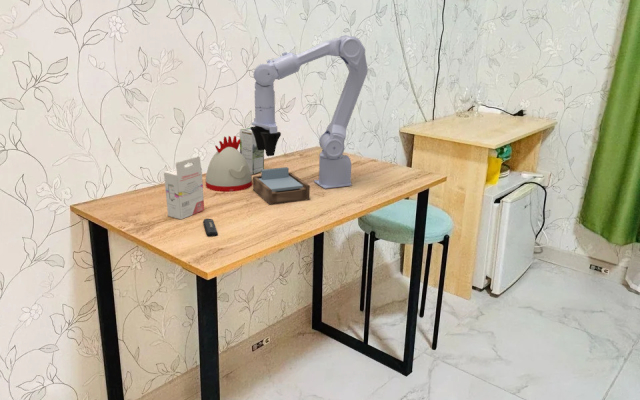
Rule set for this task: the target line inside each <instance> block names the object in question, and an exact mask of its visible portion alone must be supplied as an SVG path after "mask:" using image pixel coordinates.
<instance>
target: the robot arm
mask: <svg viewBox="0 0 640 400" xmlns="http://www.w3.org/2000/svg"><path fill="white" fill-rule="evenodd" d="M327 56H333V57H339V58H340V59H341V60H342V61H343V62H344V64H345V66H346V68H347V70H348V75H347V77H346V80H345V82H344V85H343V89H342V91H341V94H340V96H339V99H338V102H337V104H336V107H335V110H334V113H333V116H332V119H331V121H330V123H329V124H328V125H327V128H326V129H325V131H324V132H323V133H322V135H321V136H320V137H319V139H318V140H319V142H318V143H319V146H320V148H321V149H322V150H321V151H320V153H319V155H318V156H319V158H318V159H319V163H318V164H319V165H318V179H315V180H313V182H314V183H315V184H317V185H318V186H320V187H321V188H322V189H326V190H327V189H334V188H343V187H350V186H352V184H353V183H351V181H352V161H351V158H350V156H349V155H347V154H344V151H345V140H346V137H347V128H348V126H349V122H350V120H351V117H352V115H353V112H354V109H355V106H356V104H357V102H358V99H359V96H360V94H361V90H362V88H363V86H364V82H365V81H366V78H367V75H368V71H369V69H368V63H367V58H366V49H365V47H364V45H363V44H362V41H361V40H360V39H359V38H358V37H356V36H352V35H351V36H350V35H346V34H345V35H342V36H340V37H334V38H332V39H329V40H325V41H323V42H321V43H319V44H316V45H315V46H312V47H310V48H308V49H306V50H303V51H302V52H299V53H297V54H295V53H294V52H291V51H290V52H287V51H284V52H281V55H280V56H277V57H276V58H273V59H270V58H269V59H267V60H266V63H260V64H258V65H257V66H256V67H255V68H254V70H253V74H252V75H253V78H254V81H255V82H254V89H255V90H254V118H253V121H252V122H251V126H250V128H251V130H252V132H253V134H254V137H255V141H256V145H257V149H258V150H264V152H265V155H266V157H273V156H275V153H276V148H277V144H278V142H279V139H280V137H281V135H282V132H280V131H278V126H277V123H276V107H275V104H276V101H275V99H276V98H275V96H276V95H275V93H276V92H275V89H274V87H275V86H274V85H275V81H276V80H281V79H284V78H286V77H288V76H291V75H293V74H295V73H297V72H299V71H300V68H301V66H303V65H305V64H307V63H310V62H313V61H315V60H318V59H321V58H324V57H327Z"/></svg>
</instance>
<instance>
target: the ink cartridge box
mask: <svg viewBox="0 0 640 400" xmlns="http://www.w3.org/2000/svg"><path fill="white" fill-rule="evenodd" d="M190 164H192V165H190ZM163 176H164V179H163V180H164V187H165V188H164V189H165V199H166V207H167V216H168V217H171V218H175V219H177V220H183V219H186V218H189V217H191V216H193V215H195V214H198V213H201V212H203V211H204V210H205V203H204V202H205V200H204V197H205V196H204V184H203V169H202V163H201V157H200V156H199V155H198V156H196V157H191V158H186V159H184V160H181V161H177V162H176V163H175V168H174V169H171V170H170V169H169V170H167V171H164V172H163Z"/></svg>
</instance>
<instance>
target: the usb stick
mask: <svg viewBox="0 0 640 400" xmlns="http://www.w3.org/2000/svg"><path fill="white" fill-rule="evenodd" d="M202 224H203V228H204V231H205V234H206V237H208V238H209V237H212V238H213V237H217V236H218V235H219V233H218V230H217V227H216V225H215V221H214V220H213V219H212V218H204V219H203V221H202Z"/></svg>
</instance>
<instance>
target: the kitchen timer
mask: <svg viewBox="0 0 640 400" xmlns="http://www.w3.org/2000/svg"><path fill="white" fill-rule="evenodd" d="M240 141H241V140H240V138H239V139H238V140H237V136H236V135H234V136H233V138H232V137H231V136H230V135H228V138H227V136H223V142H222V140H219V141H218V143H219V147H220V148H219V147H218V145H215V144H214V146H215V149H216V152H215V153H214V154H213V155H212V158H211V160H210V161H209V164H208V166H207V171H206V175H205V187H206V188H207V189H209V190H210V191H214V192H221V193H223V192H225V193H229V192H230V193H231V192H233V193H234V192H239V191H240V192H241V191H244V190H248V189H249V188H250V189H251V187H253V176H252V174H251V172H250V169H249V166H248V163H247V161H246V159H245V158H244V156H243V155H242V154H241V153H240V150H238V149H239V148H240Z"/></svg>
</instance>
